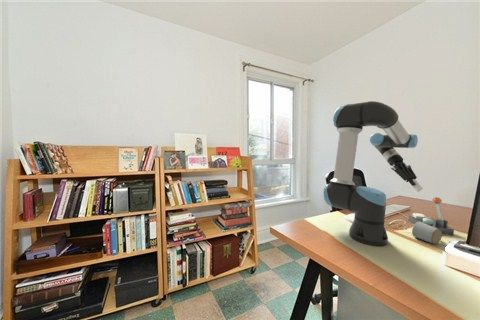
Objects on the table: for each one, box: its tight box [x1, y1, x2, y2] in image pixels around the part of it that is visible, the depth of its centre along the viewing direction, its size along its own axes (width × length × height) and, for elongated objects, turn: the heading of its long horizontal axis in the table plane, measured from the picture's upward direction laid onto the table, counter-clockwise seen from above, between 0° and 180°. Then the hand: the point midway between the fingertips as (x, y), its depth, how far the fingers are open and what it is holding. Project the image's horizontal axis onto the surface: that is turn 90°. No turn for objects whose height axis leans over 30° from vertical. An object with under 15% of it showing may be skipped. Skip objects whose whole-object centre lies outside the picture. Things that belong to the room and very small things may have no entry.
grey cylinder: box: [411, 222, 443, 245], centre depth 91 cm, size 11×8×8 cm
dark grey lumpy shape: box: [408, 215, 455, 236], centre depth 105 cm, size 11×16×6 cm
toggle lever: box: [432, 196, 445, 224], centre depth 101 cm, size 3×3×14 cm
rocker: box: [412, 212, 427, 219], centre depth 110 cm, size 4×3×1 cm
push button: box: [423, 218, 434, 225], centre depth 102 cm, size 4×4×2 cm
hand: (419, 190), depth 110 cm, fingers closed
